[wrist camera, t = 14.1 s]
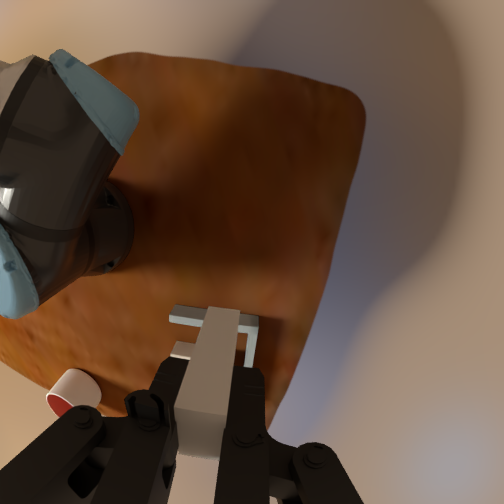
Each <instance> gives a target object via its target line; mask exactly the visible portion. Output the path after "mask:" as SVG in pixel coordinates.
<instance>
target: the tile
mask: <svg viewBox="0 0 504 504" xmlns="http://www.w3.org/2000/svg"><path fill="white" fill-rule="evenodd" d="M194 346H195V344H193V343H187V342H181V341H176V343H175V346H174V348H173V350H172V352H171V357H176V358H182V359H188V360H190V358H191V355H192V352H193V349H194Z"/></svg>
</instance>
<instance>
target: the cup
mask: <svg viewBox="0 0 504 504" xmlns="http://www.w3.org/2000/svg"><path fill="white" fill-rule="evenodd" d="M46 400H47V403H48V405H49V407H50V408H51V410H52V411H53V412H54V413H55V414H56V415H57V416H58V417H59V418H60V417H61V416H62V415H63V414H64V413H65V412H67V411H68V410H69V409H71V408H72V407H74V406H78V405H89V406H91V407H94V408H96V407H97V405H98V403H99V402H100V400H101V390H100V388H99V386H98V384H97V383H96V382H95V380H94V379H93V378H92V377H91V376H89V375H88V374H87V373H85V372H83V371H81V370H79V369H69V370H67V371H66V372H65V373H64V374H63V375H62V377H61V378H60V379H59V380H58V381H57V383H56V384H55V385H54V386H53V387H52V389H51V390H50V391H49V392H48V394H47V395H46Z"/></svg>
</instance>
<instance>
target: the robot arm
mask: <svg viewBox="0 0 504 504" xmlns="http://www.w3.org/2000/svg"><path fill="white" fill-rule="evenodd" d="M49 59H50V60H49V61H47V60H44V59H42V58H40V57H37V56H36V55H31V56H29V57H26V58H24V59H22V60H20V61H18V62H16V63H12V64H8V63H6V62H3V61H0V315H2V316H4V317H6V318H12V319H18V318H21V317H23V316H25V315H27V314H28V313H30V312H33V311H35V310H37V308H38V306H40V305H41V304H43V303H44V302H45V301H47V300H48V299H49V298H51V297H52V296H54V295H55V294H56V293H58V292H59V291H61V290H62V289H63V288H65V287H66V286H68V285H69V284H71V283H72V282H74V281H75V280H76V279H78V278H79V277H84V276H97V275H102V274H105V273H108V272H109V271H111V270H113V269H114V268H115V267H117V266H118V265H119V264H121V263H122V262H123V260H124V259H125V258H126V256H127V255H128V253H129V251H130V248H131V245H132V242H133V236H134V223H133V216H132V212H131V209H130V207H129V204H128V202H127V200H126V198H125V197H124V195H123V194H122V193H121V191H120V190H119V189H118V188H117V187H115V186H114V185H113V184H112V183H110V182H108V181H107V179H108V177H109V175H110V173H111V172H112V170H113V168H114V166H115V164H116V163H117V161H118V159H119V158H120V156H122V155H123V154H124V148H125V146H126V144H127V142H128V140H129V138H130V137H131V135H132V133H133V131H134V130H135V128H136V126H137V124H138V122H139V109H138V107H137V105H136V104H135V103H134V102H133V101H132V100H131V99H130V98H129V97H128V96H127V95H125V94H124V93H123V92H122V91H120V90H119V89H118V88H117V87H115V86H114V85H113V84H112V83H110V82H109V81H108V80H106V79H105V78H104V77H102V76H101V75H100V74H98V73H97V72H96V71H94V70H93V69H91V68H90V67H89V66H87V65H86V64H84V63H83V62H80V60H78V59H77V58H75V57H73V56H72V55H71V54H70V53H68V52H66V51H65V50H63V49H59V50H57V51H56V52H54V53H53V54H51V55H50V57H49ZM239 316H240V310H233V309H225V308H218V307H210V306H209V307H208V310H207V313H206V315H205V318H204V321H203V324H202V327H201V329H200V332H199V335H198V338H197V341H196V343H195V346H194V349H193V352H192V355H191V358H190V360H188V359H182V358H176V357H171V356H170V357H168V358H167V359H166V360H164V361H163V362H162V363H161V364H160V367H159V369H158V371H157V373H156V375H155V377H154V381H152V384H151V386H150V388H149V390H144V389H143V390H137V391H134V392H132V393H130V394H128V395H127V397H126V398H125V399H124V401H125V405H126V409H127V413H128V416H126V417H102V416H101V413H100V412H99V411H98V410H97V409H96V408H94V407H91V406H89V405H78V406H74V407H72V408H71V409H69V410H68V411H67V412H65V413H64V414H63V415H62V416H61V417H60V418H59V419H58V420H56V421H55V422H54V423H53V424H52V425H51V426H50V427H48V428H47V429H46V430H45V431H44V432H43V433H42V434H41V435H40V436H38V437H37V438H36V439H35V440H34V441H33V442H31V443H30V444H29V445H28V446H27V447H26V448H25V449H24V450H23V451H21V452H20V453H19V454H18V455H17V456H16V457H15V458H13V459H12V460H11V461H10V462H9V463H8V464H7V465H6V466H4V467H3V468H2V469H1V470H0V504H167V502H168V498H169V494H170V489H171V486H172V481H173V477H174V473H175V469H176V459H175V458H176V455H177V451H179V454H182V455H187V456H192V457H198V458H204V459H211V460H218V461H219V467H218V474H217V475H218V476H217V482H216V490H215V498H214V504H270V502H269V501H270V497H269V496H272V497H275V498H276V499H277V502H278V504H364V503H363V502H362V500H361V498H360V496H359V494H358V493H357V491H356V489H355V487H354V485H353V484H352V482H351V480H350V479H349V477H348V475H347V473H346V471H345V469H344V468H343V466H342V464H341V463H340V461H339V459H338V457H337V455H336V453H335V452H334V451H333V450H332V449H331V448H330V447H328V446H326V445H325V444H321V443H317V442H312V443H305V444H303V445H300V446H299V447H298V448H296V447H293V446H289V445H285V444H282V443H280V442H278V441H276V440H275V439H273V438H272V437H271V436H270V435H269V434H268V432H267V430H266V426H265V397H264V395H265V389H264V376H263V374H262V373H261V371H260V369H259V368H251V367H242V366H234V358H235V350H236V341H237V333H238V324H239Z"/></svg>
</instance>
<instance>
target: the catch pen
mask: <svg viewBox="0 0 504 504" xmlns="http://www.w3.org/2000/svg"><path fill="white" fill-rule="evenodd" d="M207 310H208V309H202V308H195V307H189V306H182V305H176V304H175V306H174V308H173V309H172V311H171V313H170V314H169V322H173V323H179V324H185V325H191V326H197V327H202V324H203V321H204V318H205V315H206V313H207ZM258 328H259V316H256V315H248V314H240V316H239V324H238V332H241V333H248V339H247V346H246V353H245V360H244V367H251V368H252V366H253V359H254V353H255V347H256V341H257V334H258Z"/></svg>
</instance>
